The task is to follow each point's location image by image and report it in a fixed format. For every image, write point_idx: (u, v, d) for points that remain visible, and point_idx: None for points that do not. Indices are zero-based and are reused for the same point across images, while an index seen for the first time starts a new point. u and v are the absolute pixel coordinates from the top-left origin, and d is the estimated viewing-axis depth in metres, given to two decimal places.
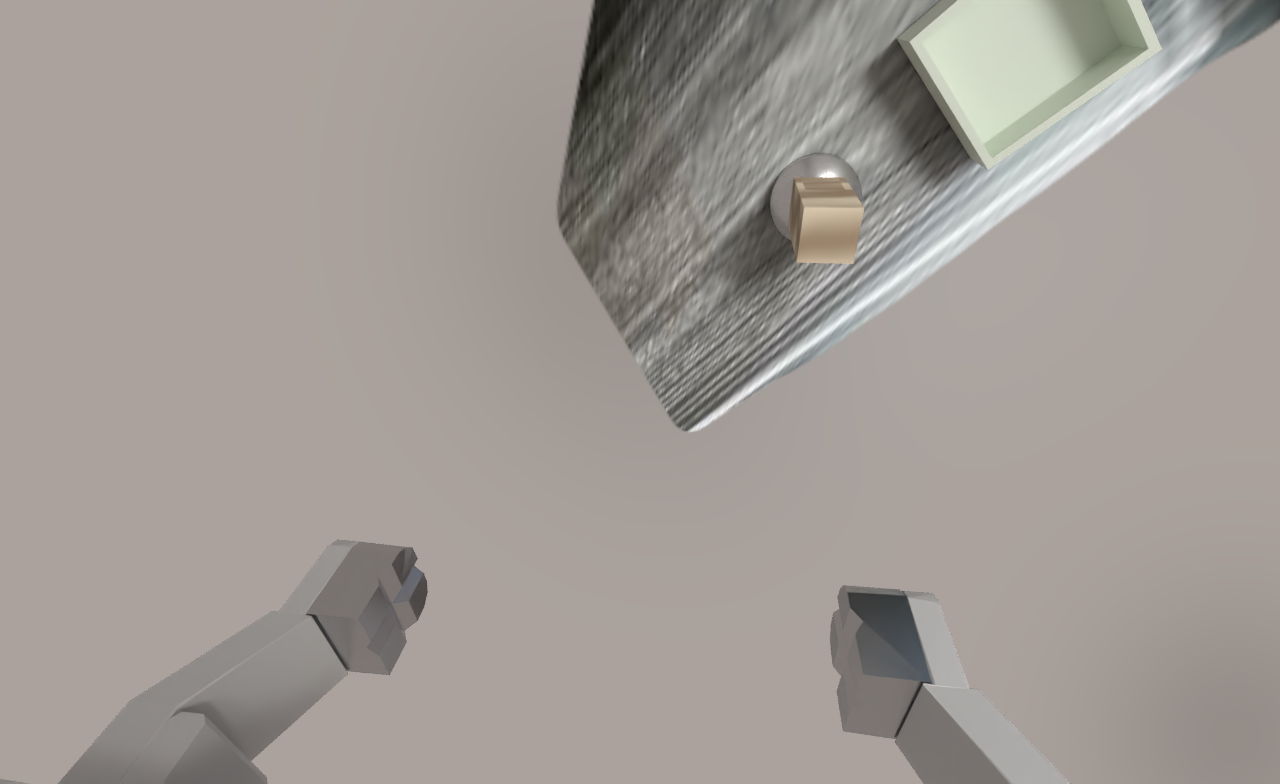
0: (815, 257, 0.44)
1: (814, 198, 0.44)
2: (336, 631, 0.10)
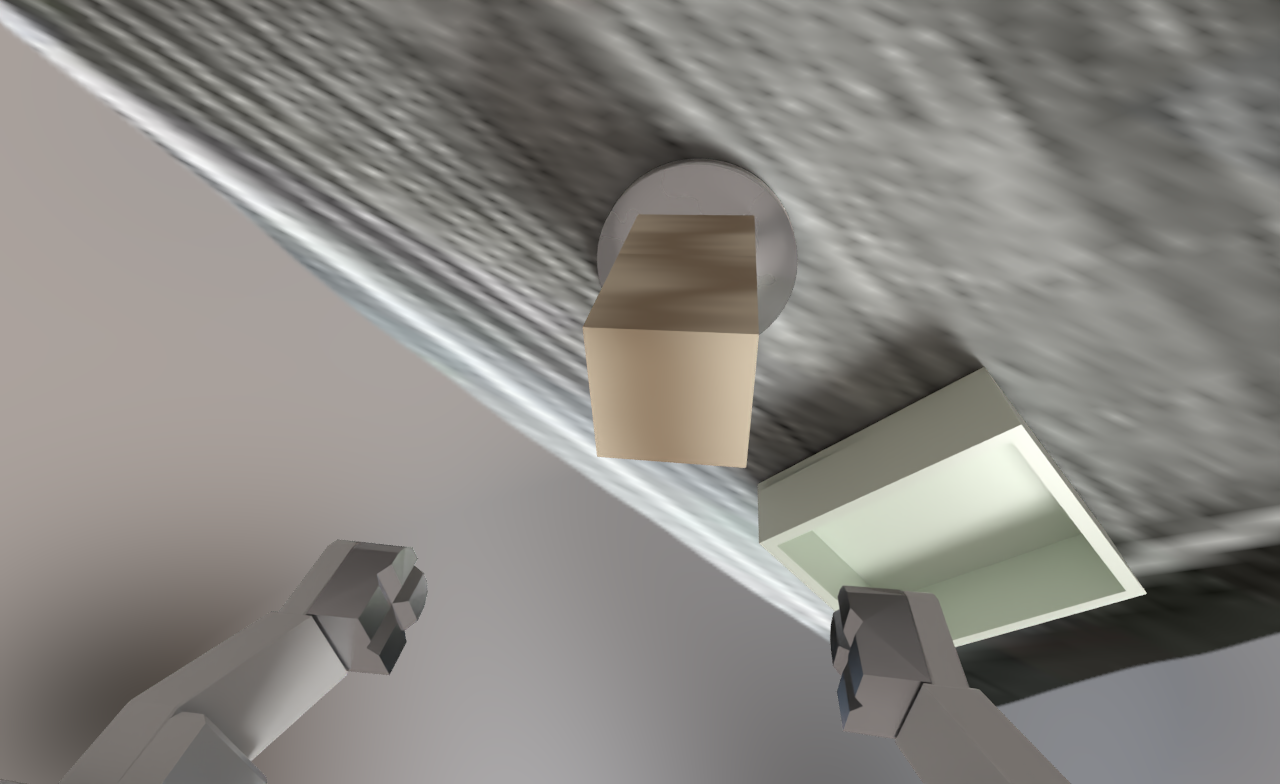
0: (604, 374, 0.15)
1: None
2: (336, 631, 0.10)
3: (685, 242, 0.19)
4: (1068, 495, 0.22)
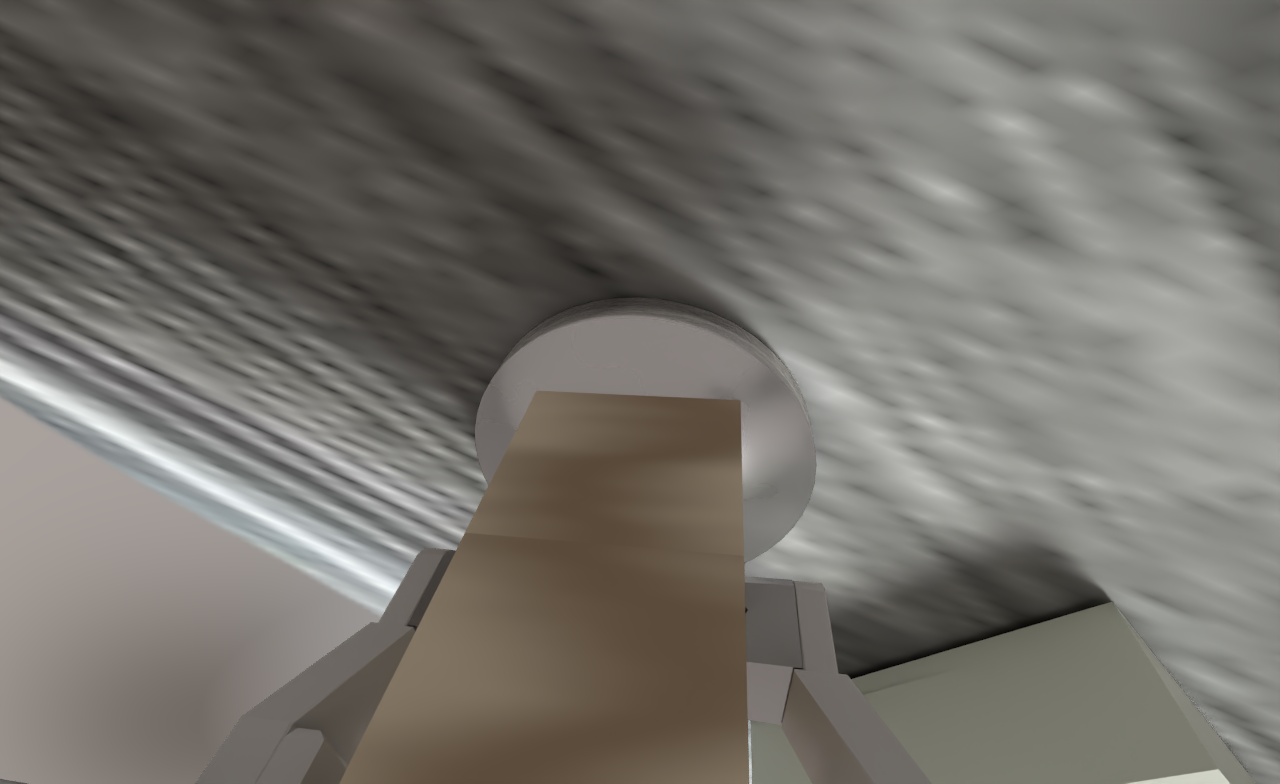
0: None
1: None
2: None
3: (605, 492, 0.10)
4: None
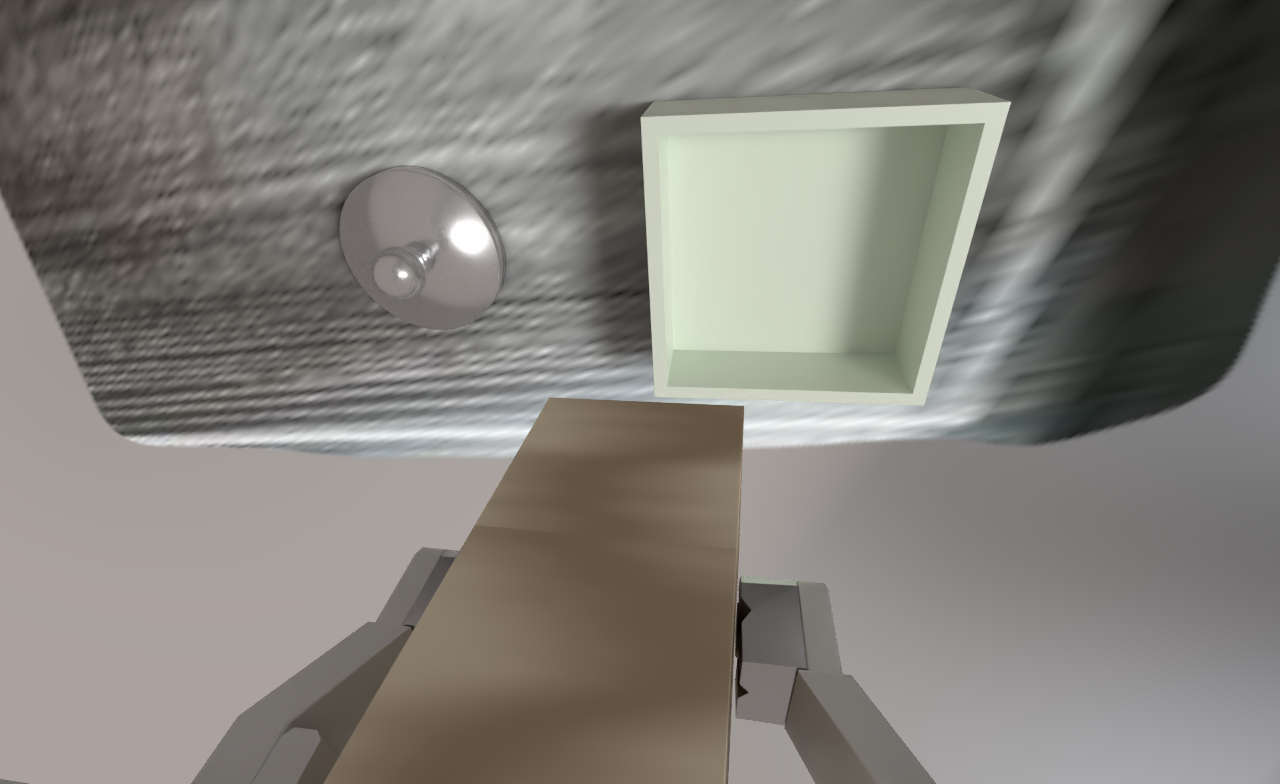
0: None
1: (726, 757, 0.07)
2: None
3: (607, 490, 0.10)
4: (768, 117, 0.19)
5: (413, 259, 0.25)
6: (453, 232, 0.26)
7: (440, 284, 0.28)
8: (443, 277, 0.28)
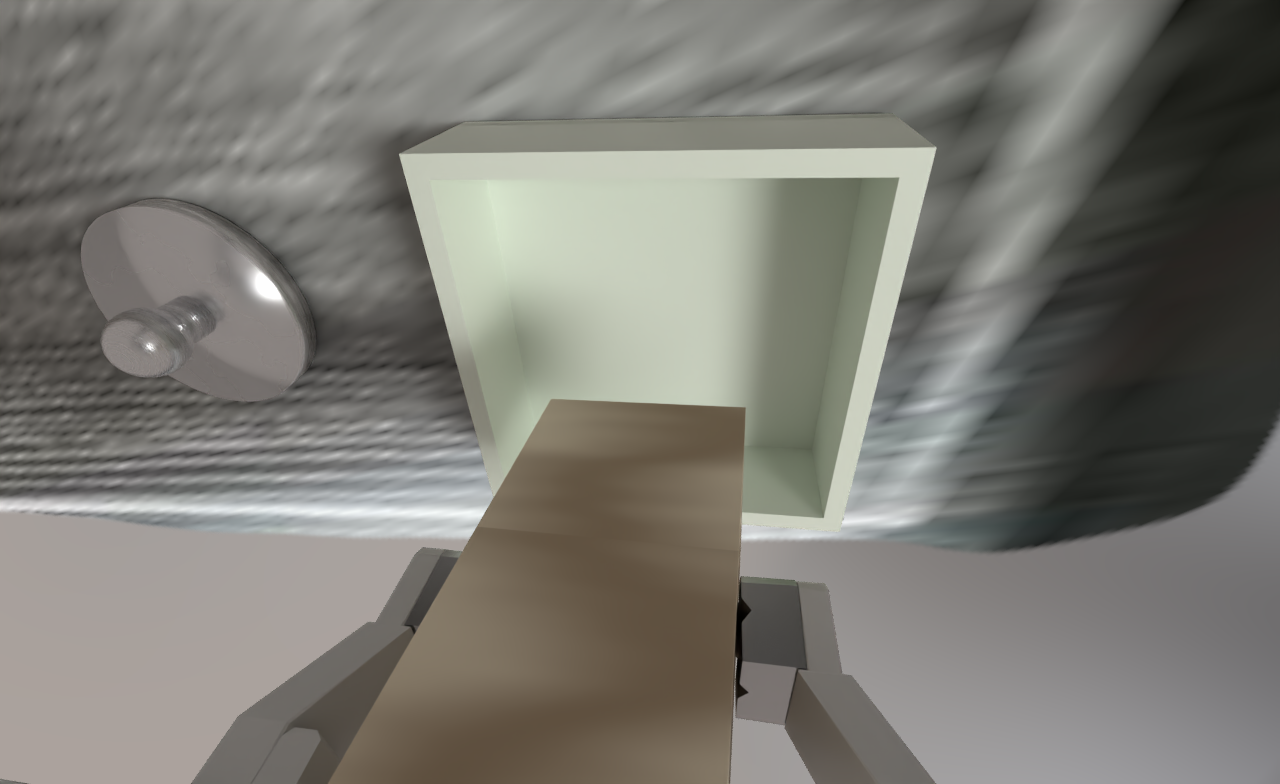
0: None
1: (729, 760, 0.07)
2: None
3: (609, 491, 0.10)
4: (581, 159, 0.13)
5: (158, 327, 0.18)
6: (228, 287, 0.20)
7: (228, 349, 0.21)
8: (230, 341, 0.21)
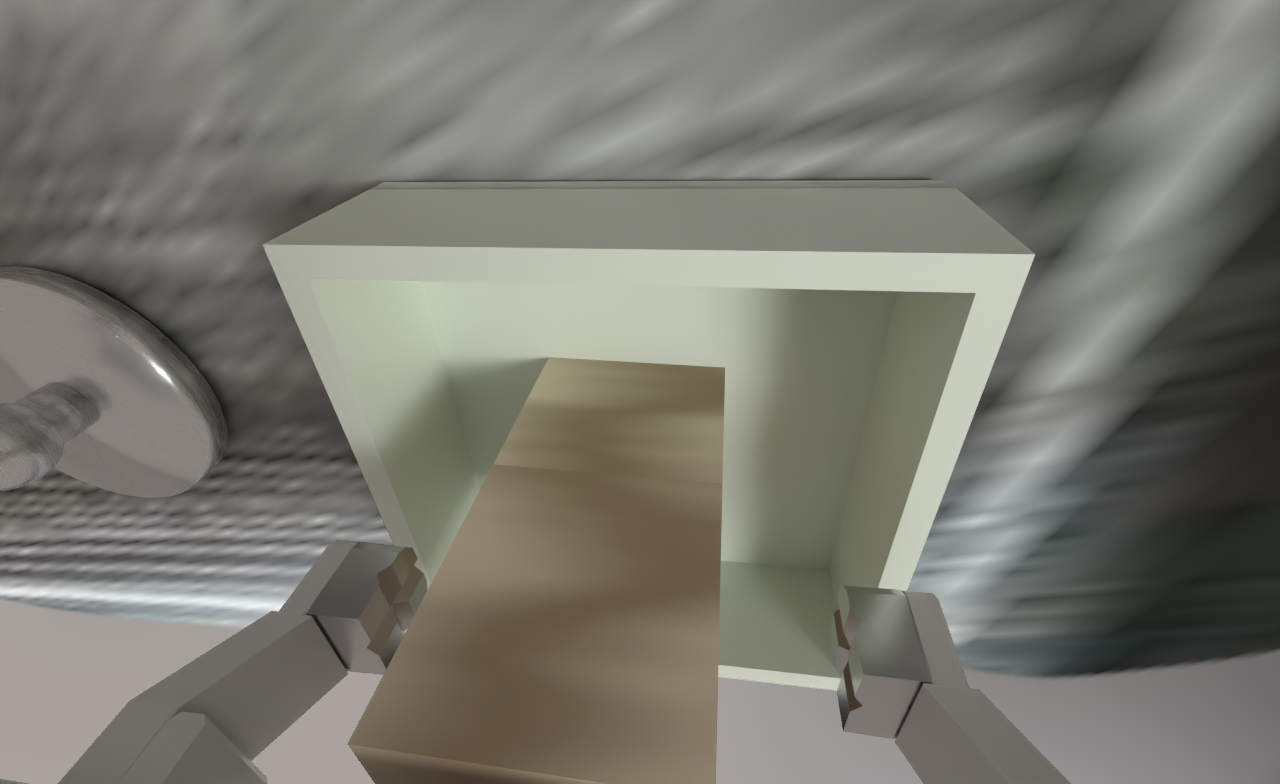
0: None
1: None
2: (336, 631, 0.10)
3: (609, 436, 0.11)
4: (515, 257, 0.09)
5: (7, 431, 0.15)
6: (107, 373, 0.16)
7: (118, 441, 0.18)
8: (118, 433, 0.17)
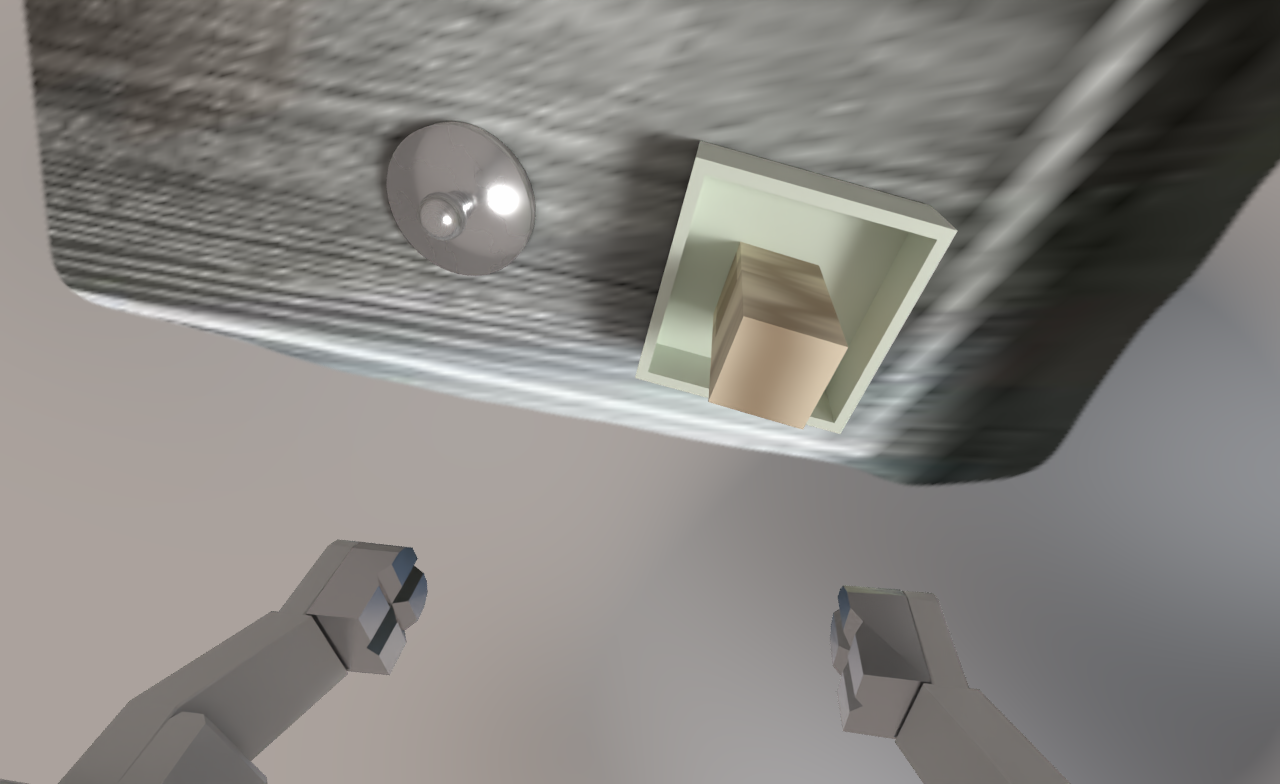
0: (741, 348, 0.23)
1: None
2: (336, 631, 0.10)
3: (781, 273, 0.27)
4: (791, 187, 0.24)
5: (460, 208, 0.28)
6: (497, 194, 0.29)
7: (469, 234, 0.31)
8: (474, 229, 0.31)
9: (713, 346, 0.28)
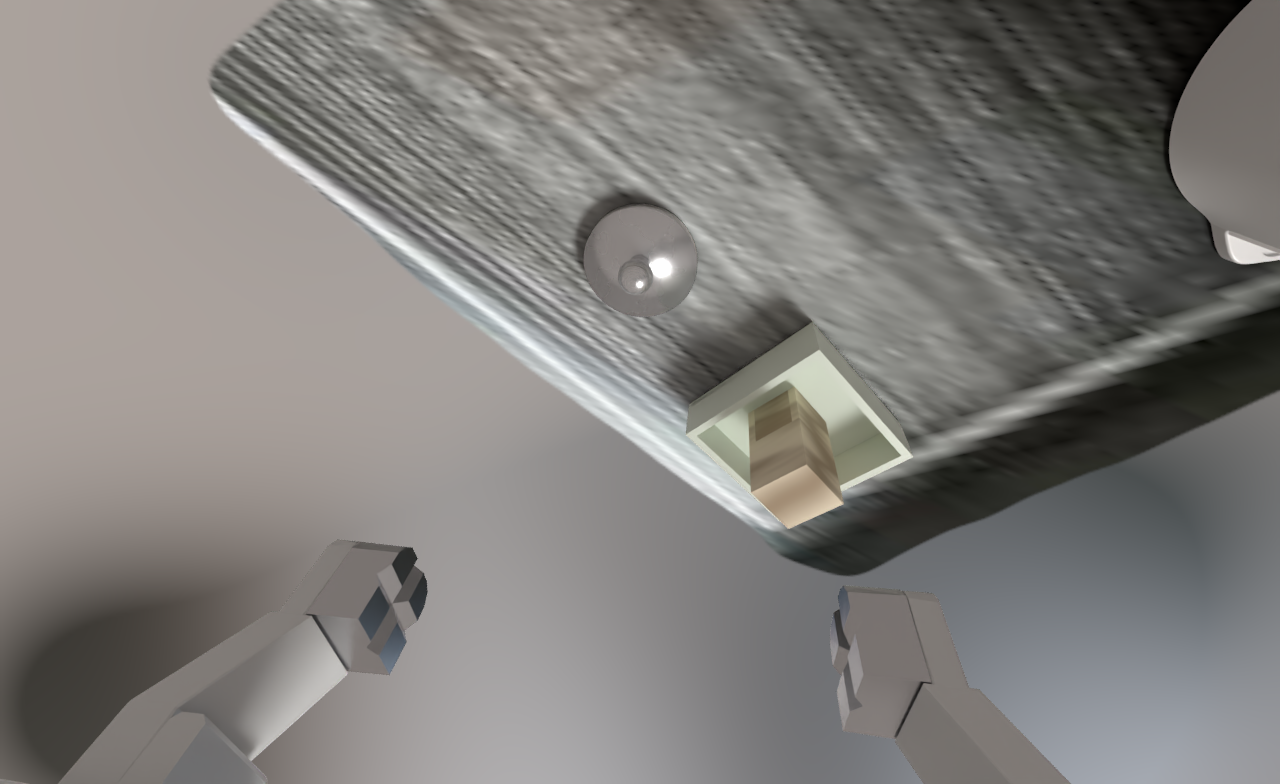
0: (791, 477, 0.37)
1: None
2: (336, 631, 0.10)
3: (813, 426, 0.42)
4: (854, 392, 0.39)
5: (652, 281, 0.37)
6: (672, 276, 0.39)
7: None
8: None
9: (753, 447, 0.42)
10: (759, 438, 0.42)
